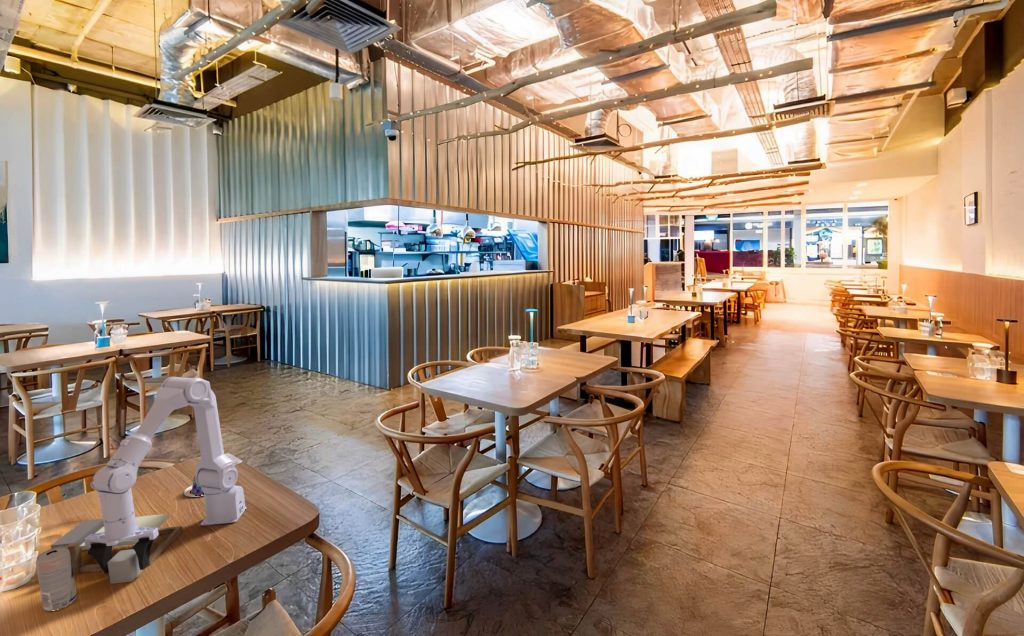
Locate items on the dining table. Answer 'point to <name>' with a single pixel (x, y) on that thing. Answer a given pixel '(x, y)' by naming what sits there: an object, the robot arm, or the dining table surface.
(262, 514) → the dining table surface
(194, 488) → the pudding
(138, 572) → the stone
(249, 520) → the dining table surface
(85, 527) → the flap
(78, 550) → the frame
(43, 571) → the energy drink
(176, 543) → the dining table surface
